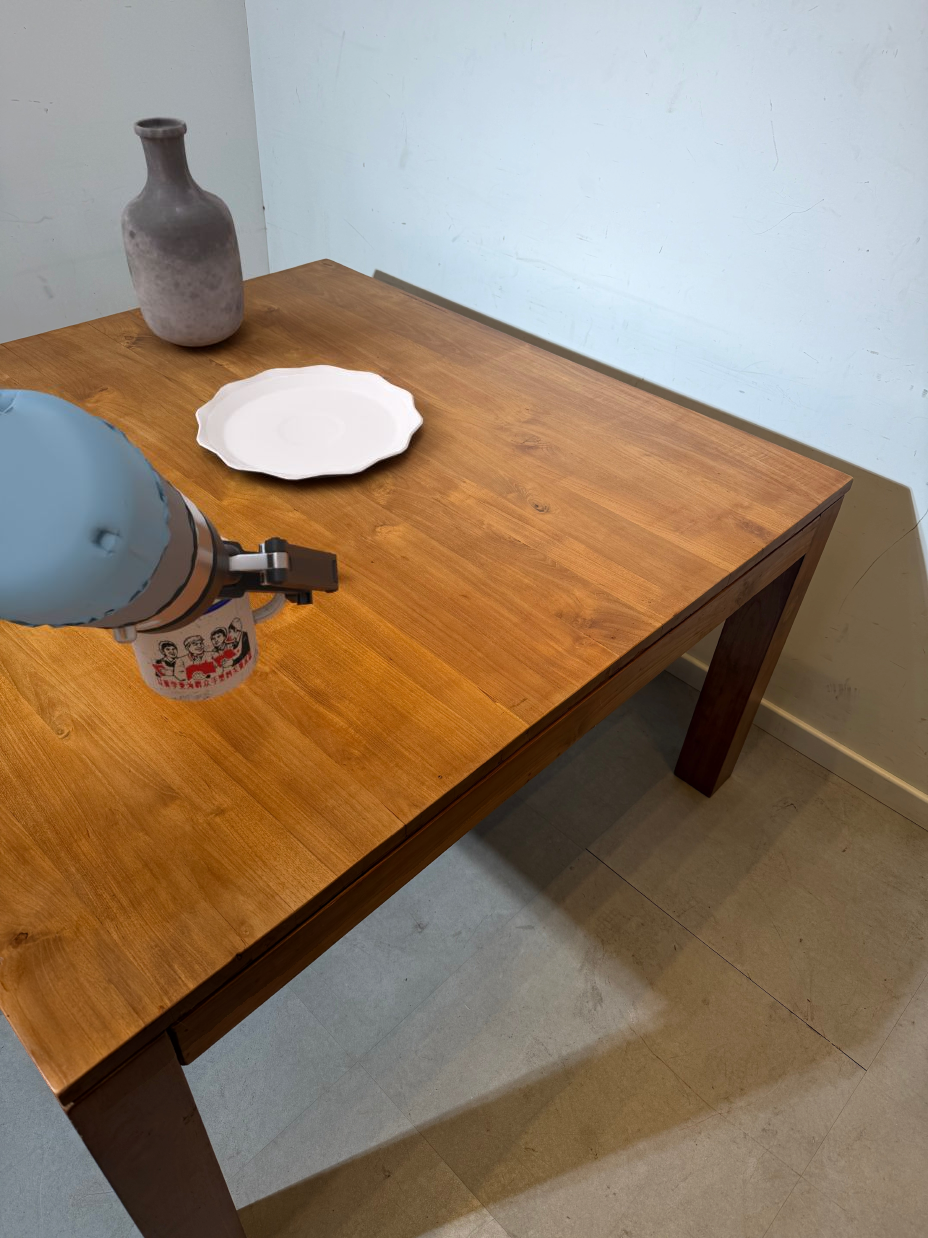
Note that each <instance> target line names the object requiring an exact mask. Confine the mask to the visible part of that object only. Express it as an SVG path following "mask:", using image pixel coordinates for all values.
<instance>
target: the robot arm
mask: <svg viewBox="0 0 928 1238" xmlns="http://www.w3.org/2000/svg"><path fill="white" fill-rule="evenodd" d="M220 536H221V535H220V533H219V531H218V529H217V528H216V526H215V525H214V524H213V522H212V521H211V519H210V518H209V517H208V516H207V515H206V514H205V513H204V512H203V511H201V509H200V508H198V507H197V506H196V504H195V503H194V502H192V501H191V499H189V497H187V496H186V495H185V494H183V493H182V491H180V490H179V489H178V488H177V487H175V486H174V485H173V484H172V483H171V482H170V481H169V480H167V479H166V478H165V477H164V476H163V474H161V473H160V472H159V471H158V470H157V469H156V468H155V467H154V465H153V464H152V463H151V461H149V460H148V459H147V457H146V456H145V454H144V453H143V452H142V450H141V449H140V448H139V447H137V446H136V445H135V444H133V443H132V442H131V441H130V440H129V439H128V437H127V435H126V433H124V432H123V431H122V430H120V429H119V428H118V427H116V426H115V425H113V424H112V423H111V422H109V421H107V420H105V419H104V418H102V417H100V416H95V415H92V414H90V413H89V412H88V411H86V410H84V409H83V408H81V407H79V406H77V405H75V404H74V403H71V402H70V401H68V400H66V399H64V398H61V397H58V396H56V395H52V394H50V393H45V392H42V391H39V390H38V391H37V390H30V389H22V388H21V389H20V388H19V389H16V388H15V389H14V388H11V389H10V388H4V387H2V386H0V620H2V621H5V622H8V623H12V624H15V625H18V626H21V627H28V628H32V629H34V628H39V627H43V626H49V627H51V628H53V629H61V628H66V627H76V628H79V627H80V628H92V629H100V630H101V629H102V630H113V640H114V641H116V643H118V644H131V643H132V642H134V641H135V640H136V639H137V633H143V634H161V633H167V632H171V631H175V630H178V629H181V628H183V627H185V626H187V625H189V624H191V623H192V622H194V621H195V620H197V619H198V618H199V617H201V616H202V615H203V614H204V613H205V612H206V611H207V610H208V609H209V608H210V606H211V605H212V604H213V602H214V601H215V599H218V600H226V599H235V598H241V597H243V596H244V594H245V592H249V593H259V594H275V593H281V594H285V598H286V599H287V601H288V602H290V603H291V604H296V606H307V605H313V604H314V598H313V591H315V592H323V593H325V594H334V593H336V592H338V591H340V586H339V585H340V584H339V569H338V557H337V554H336V553H332V552H329V551H324V550H319V549H315V548H310V547H305V546H302V545H301V546H300V545H296V544H292V543H290V542H289V541H288V540H287V539H285V538H281V537H279V536H274V537H270V538H268V539H266V540H264V542H260V543H258V544H257V545H258V551H253V550H251V551H250V550H244V548H243V546H242V545H241V543H240V542H238V541H235V540H234V541H233V540H229V541H226V540H222V539H221V537H220ZM337 569H338V570H337Z"/></svg>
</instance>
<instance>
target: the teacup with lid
mask: <svg viewBox="0 0 928 1238" xmlns="http://www.w3.org/2000/svg"><path fill="white" fill-rule="evenodd" d="M220 537H221V539H222V540H226V541H230V540H229V539H228V538H226V537H224V536H222V535H220ZM273 594H274V595H273V596H272V597H271V598H270V600H269V601H268V602H267V603H265V604H264V605H262V606H260V607H258V608H256V609H252V605H251V598H250V592H245V594H244V596H243V597H241V598H235V599H226V600H218V599H215V601H214V602H213V604H212V605H211V606H210V608H209V609H208V610H207V611H206V612H205V613H204V614H203V615H202V616H201V617H199V618H198V619H197V620H195V621H194V622H192V623H191V624H189V625H187V626H185V627H183V628H181V629H178V630H175V631H171V632H167V633H161V634H143V633H137V639H136V640H135V641H134V642H132V643H130V644H131V647H132V649H133V653H134V656H135V659H136V663H137V665H138V668H139V672H140V675H141V677H142V680H143V682H144V683H145V684H146V685H147V687H148V688H149V689H150V690H152V691H153V692H154V693H156V694H158V695H160V696H161V697H164V698H167V699H169V700H173V701H180V702H199V701H201V702H202V701H207V700H211V699H215V698H218V697H220V696H223V695H225V694H228V693H229V692H231V691H234V690H235V689H236V688H238V687H239V686H240V685H242V684H243V683H244V682H245V681H246V680H247V679H248V678H249V677H250V676H251V674H252V673H253V671H254V670H255V668H256V665H257V663H258V659H259V651H260V649H259V644H258V638H257V633H256V632H257V631H256V627H255V626H256V625H258V624H261V623H264V622H266V621H268V620H270V619H272V618H274V617H275V616H276V615H277V614H279V612H281V611H282V609H283V608H284V607H285V605H286V603H287V601H288V600H287V599H286V598H285V594H281V593H273Z"/></svg>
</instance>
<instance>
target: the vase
mask: <svg viewBox="0 0 928 1238" xmlns="http://www.w3.org/2000/svg"><path fill="white" fill-rule="evenodd" d="M133 130H134V133H135V135H137V136H138V137H139V139H140V142H141V146H142V149H143V153H144V158H145V164H146V171H147V176H146V182H145V185H144V187H143V188H142V190H141V192H139V193H138V194H136V195H134V196H132V197H131V198H129V200H128V201H126V203H124V206H123V208H122V211H121V217H120V224H121V225H120V226H121V227H120V228H121V235H122V241H123V247H124V252H125V258H126V263H127V265H128V266H127V267H128V270H129V274H130V279H131V282H132V286H133V289H134V293H135V296H136V300H137V304H138V306H139V310H140V312H141V314H142V317H143V319H144V321H145V324H146V325H147V327H148V328H149V329H150V330H151V332H152V333H153V334H154V335H156V337H158V338H160V339H162V340H163V341H166V342H168V343H171V344H173V345H178V346H184V347H190V348H191V347H195V348H196V347H197V348H198V347H206V346H211V345H214V344H217V343H220V342H222V341H224V340H226V339H228V338H229V337H231V336H233V335H234V334H235V333H236V332H237V331H238V329H239V328H240V327H241V325H242V323H243V319H244V315H245V290H244V289H245V288H244V276H243V269H242V261H241V253H240V247H239V242H238V236H237V235H238V234H237V231H236V226H235V222H234V218H233V215H232V212H231V209H229V206H228V205H227V204H226V203H225V201H224V200H223V199H222V198H221V197H219V196H218V195H216V194H214V193H212V192H210V191H207V190H206V189H203V188H202V187H201V186H200V185H199V184H198V183H197V182H196V180H195V179H194V178H193V176H192V174H191V171H190V169H189V164H188V160H187V151H186V143H185V134H187V132H188V126H187V123H186V121H185V120H182V119H180V118H176V117H165V116H155V117H147V118H141V119H138V120H136V121H135V122H134V123H133Z"/></svg>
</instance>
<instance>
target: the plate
mask: <svg viewBox="0 0 928 1238" xmlns="http://www.w3.org/2000/svg"><path fill="white" fill-rule="evenodd" d="M414 399H415V398H414V395H413V394H412V393H411V392H410V391H408V390H407V389H404V388H402V387H399V386H396V385H395V384H391V382H389V381H388V380H386V379H385V378H383V376H381V375H380V374H377V373H374V372H369V371H363V370H362V371H361V370H351V369H345V368H342V367H338V366H333V365H329V364H318V365H309V366H303V367H278V368H277V367H275V368H271V369H267V370H264V371H262V372H260V373H257V374H255V375H253V376H250V377H247V378H244V379H240V380H236V381H232V382H229V383H227V384H225V385H223V386H222V387H220V388H219V389H218V391H217V392H216V393H215V395H214V396H213V397H212V399H210V400H209V401H208V402H206V403H205V404H204V405H202V406H201V407H199V408H198V409H197V410H196V412H195V417H196V421H197V423H198V431H197V436H196V439H195V440H196V442H197V444H198V445H199V447H201V448H203V449H204V450H207V451H208V452H210V453H212V454H214V455H216V456H217V457H218V458H219V459H220V460H221V461H222V462H223V463H224V464H225V465H226V466H227V468H230V469H232V470H234V471H239V472H240V471H241V472H247V473H248V472H249V473H256V474H263V475H267V476H270V477H272V478H273V477H274V478H277V479H281V480H283V481H284V480H285V481H296V482H297V481H302V480H316V479H317V480H318V479H319V480H320V479H321V480H322V479H327V478H332V477H333V478H334V477H345V476H352V475H356V474H360V473H362V472H364V471H366V470H368V469H369V468H371V467H373V466H374V465H376V464H379V463H380V462H383V461H386V460H388V459H391V458H394V457H396V456H399V455H402V454H404V453H405V451H407V450H408V448H409V445H410V441H411V439H412V437H413V435H415V434H416V433H417V431H419V430H420V428H421V427H422V426H423V422H424V418H423V417H422V415H421V414H420V412H419V411H418V410H417V409H416V407H415V402H414V401H415V400H414Z"/></svg>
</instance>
